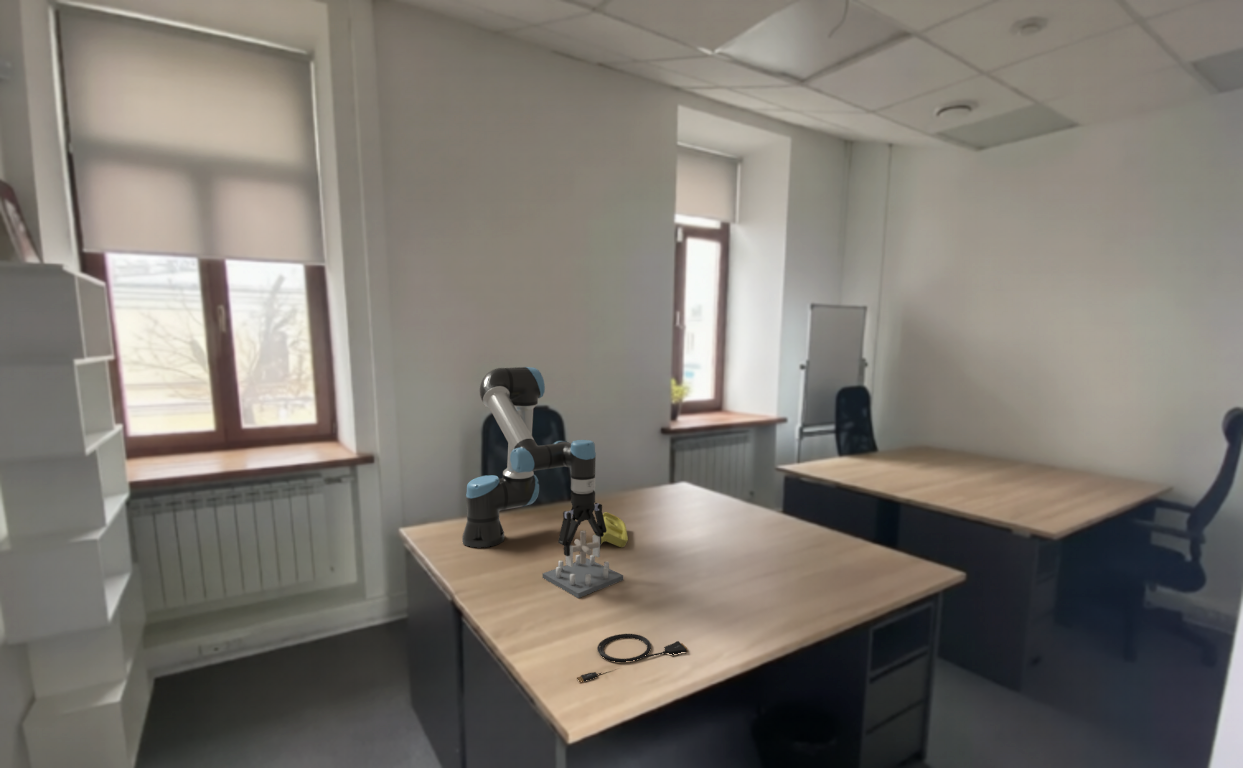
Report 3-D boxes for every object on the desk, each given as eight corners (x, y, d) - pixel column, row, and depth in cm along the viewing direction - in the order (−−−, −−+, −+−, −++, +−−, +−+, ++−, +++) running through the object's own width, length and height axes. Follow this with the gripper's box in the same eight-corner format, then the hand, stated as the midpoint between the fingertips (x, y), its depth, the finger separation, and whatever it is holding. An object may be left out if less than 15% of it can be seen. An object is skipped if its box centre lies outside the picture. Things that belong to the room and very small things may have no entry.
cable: (559, 653, 130) (559, 647, 130) (661, 627, 142) (661, 622, 142) (579, 685, 118) (579, 679, 118) (689, 654, 130) (689, 648, 130)
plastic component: (628, 542, 195) (603, 531, 193) (619, 559, 195) (594, 548, 194) (624, 520, 214) (602, 509, 213) (616, 536, 215) (593, 525, 214)
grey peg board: (542, 578, 170) (542, 564, 170) (586, 562, 182) (586, 549, 182) (578, 598, 157) (578, 583, 156) (623, 579, 169) (623, 566, 169)
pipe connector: (574, 571, 162) (574, 539, 162) (562, 559, 171) (562, 529, 170) (604, 565, 167) (604, 534, 166) (591, 554, 176) (591, 524, 175)
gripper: (560, 500, 157) (560, 574, 159) (618, 486, 172) (617, 554, 174) (545, 495, 162) (546, 566, 164) (602, 482, 178) (602, 547, 179)
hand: (583, 560), depth 169 cm, fingers closed on pipe connector, 10 cm apart
